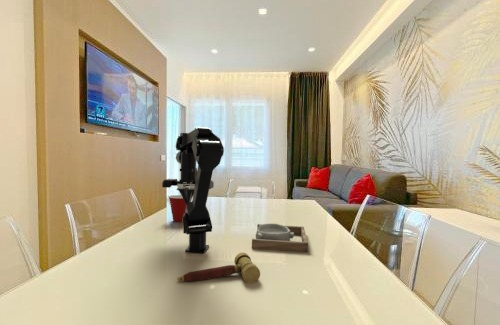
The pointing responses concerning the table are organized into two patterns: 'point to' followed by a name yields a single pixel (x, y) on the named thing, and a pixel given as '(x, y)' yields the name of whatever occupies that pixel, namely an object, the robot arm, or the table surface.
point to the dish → (274, 232)
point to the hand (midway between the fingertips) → (187, 206)
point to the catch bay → (283, 242)
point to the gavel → (226, 271)
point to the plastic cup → (177, 207)
